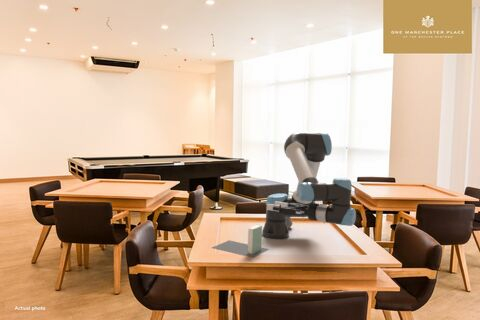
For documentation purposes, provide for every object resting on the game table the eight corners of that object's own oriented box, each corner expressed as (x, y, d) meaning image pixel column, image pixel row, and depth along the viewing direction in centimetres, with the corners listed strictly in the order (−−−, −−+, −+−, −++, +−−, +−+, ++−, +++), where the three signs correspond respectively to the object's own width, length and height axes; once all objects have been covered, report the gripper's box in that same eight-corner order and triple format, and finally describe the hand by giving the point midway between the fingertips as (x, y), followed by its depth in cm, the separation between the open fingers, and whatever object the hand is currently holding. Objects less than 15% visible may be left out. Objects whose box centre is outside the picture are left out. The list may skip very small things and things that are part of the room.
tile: (261, 250, 182) (262, 226, 181) (253, 254, 175) (253, 229, 174) (255, 248, 184) (256, 225, 183) (247, 253, 177) (248, 228, 176)
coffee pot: (291, 225, 234) (292, 202, 233) (293, 230, 223) (294, 205, 221) (257, 224, 235) (258, 200, 234) (257, 228, 224) (258, 204, 223)
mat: (269, 249, 184) (269, 249, 184) (253, 258, 170) (253, 257, 170) (229, 241, 197) (229, 240, 197) (211, 248, 183) (211, 247, 183)
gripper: (309, 225, 153) (260, 217, 165) (325, 216, 170) (280, 210, 182) (310, 207, 153) (261, 200, 165) (326, 200, 170) (281, 194, 182)
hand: (271, 205), depth 173 cm, fingers open, 7 cm apart
